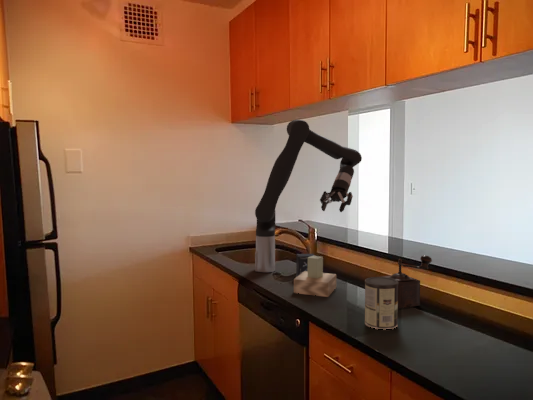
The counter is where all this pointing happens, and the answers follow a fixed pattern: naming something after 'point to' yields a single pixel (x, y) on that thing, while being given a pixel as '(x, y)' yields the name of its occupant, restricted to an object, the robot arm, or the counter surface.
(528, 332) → the counter surface
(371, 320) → the coffee can
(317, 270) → the green block
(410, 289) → the coffee grinder
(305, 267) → the box
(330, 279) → the maple block
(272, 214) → the robot arm
